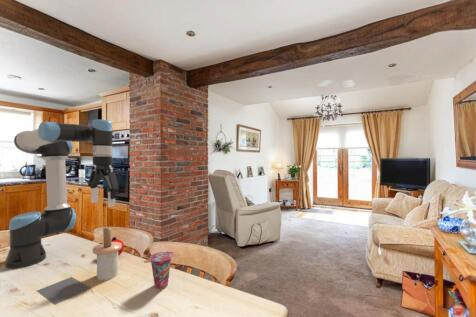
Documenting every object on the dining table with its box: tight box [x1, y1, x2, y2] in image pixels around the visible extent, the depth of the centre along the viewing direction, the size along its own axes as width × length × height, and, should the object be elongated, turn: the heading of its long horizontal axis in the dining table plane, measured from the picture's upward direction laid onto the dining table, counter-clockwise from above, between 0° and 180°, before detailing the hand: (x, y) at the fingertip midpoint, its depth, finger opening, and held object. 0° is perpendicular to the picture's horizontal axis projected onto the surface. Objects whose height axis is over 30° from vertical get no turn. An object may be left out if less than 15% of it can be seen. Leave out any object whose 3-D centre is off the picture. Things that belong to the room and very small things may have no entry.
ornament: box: [111, 236, 125, 257], centre depth 123 cm, size 9×9×10 cm
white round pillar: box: [96, 251, 120, 281], centre depth 103 cm, size 8×8×12 cm
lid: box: [92, 226, 122, 256], centre depth 103 cm, size 11×11×9 cm
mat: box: [36, 276, 91, 305], centre depth 93 cm, size 16×12×1 cm
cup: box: [149, 251, 175, 290], centre depth 97 cm, size 9×8×12 cm
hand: (102, 204), depth 104 cm, fingers open, 13 cm apart
